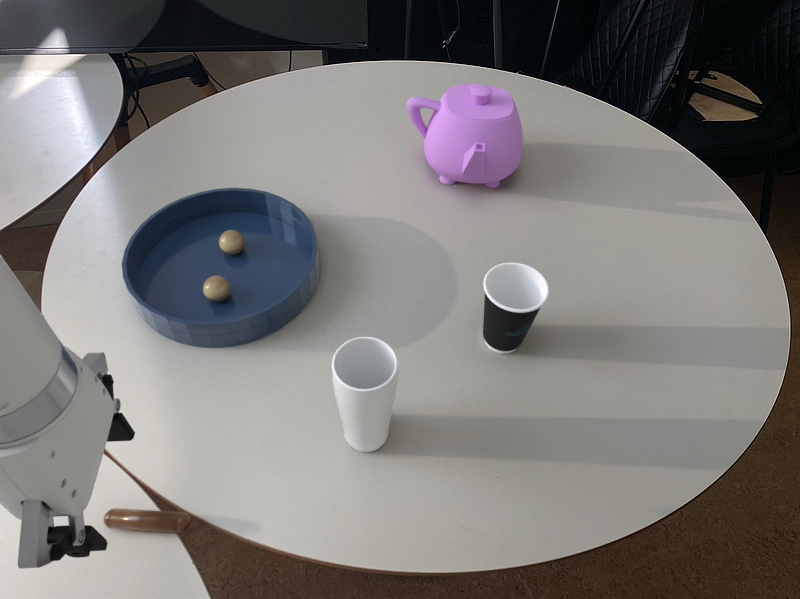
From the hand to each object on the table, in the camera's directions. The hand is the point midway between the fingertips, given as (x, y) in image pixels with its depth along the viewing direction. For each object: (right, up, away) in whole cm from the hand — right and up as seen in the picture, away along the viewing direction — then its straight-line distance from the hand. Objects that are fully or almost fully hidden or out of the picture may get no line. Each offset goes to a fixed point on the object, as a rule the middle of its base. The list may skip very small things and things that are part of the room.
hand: (103, 489), depth 52 cm
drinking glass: (+22, 0, +20) cm, 29 cm away
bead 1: (+1, +18, +30) cm, 35 cm away
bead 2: (+1, +25, +36) cm, 43 cm away
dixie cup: (+39, +11, +29) cm, 50 cm away
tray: (+1, +20, +35) cm, 40 cm away
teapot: (+36, +38, +52) cm, 73 cm away
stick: (-1, -7, +12) cm, 14 cm away
